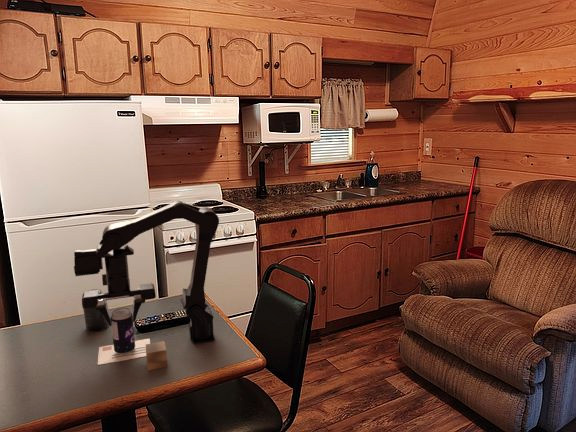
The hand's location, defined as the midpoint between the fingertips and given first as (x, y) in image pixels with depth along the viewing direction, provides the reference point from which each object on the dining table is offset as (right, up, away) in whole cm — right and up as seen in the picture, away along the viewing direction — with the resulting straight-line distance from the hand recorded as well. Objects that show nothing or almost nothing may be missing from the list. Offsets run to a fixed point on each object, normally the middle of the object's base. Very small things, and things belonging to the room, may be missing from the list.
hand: (122, 323), depth 125 cm
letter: (0, -8, +2) cm, 8 cm away
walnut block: (+11, -10, -5) cm, 15 cm away
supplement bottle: (-14, -5, +17) cm, 22 cm away
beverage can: (0, -8, +2) cm, 9 cm away
